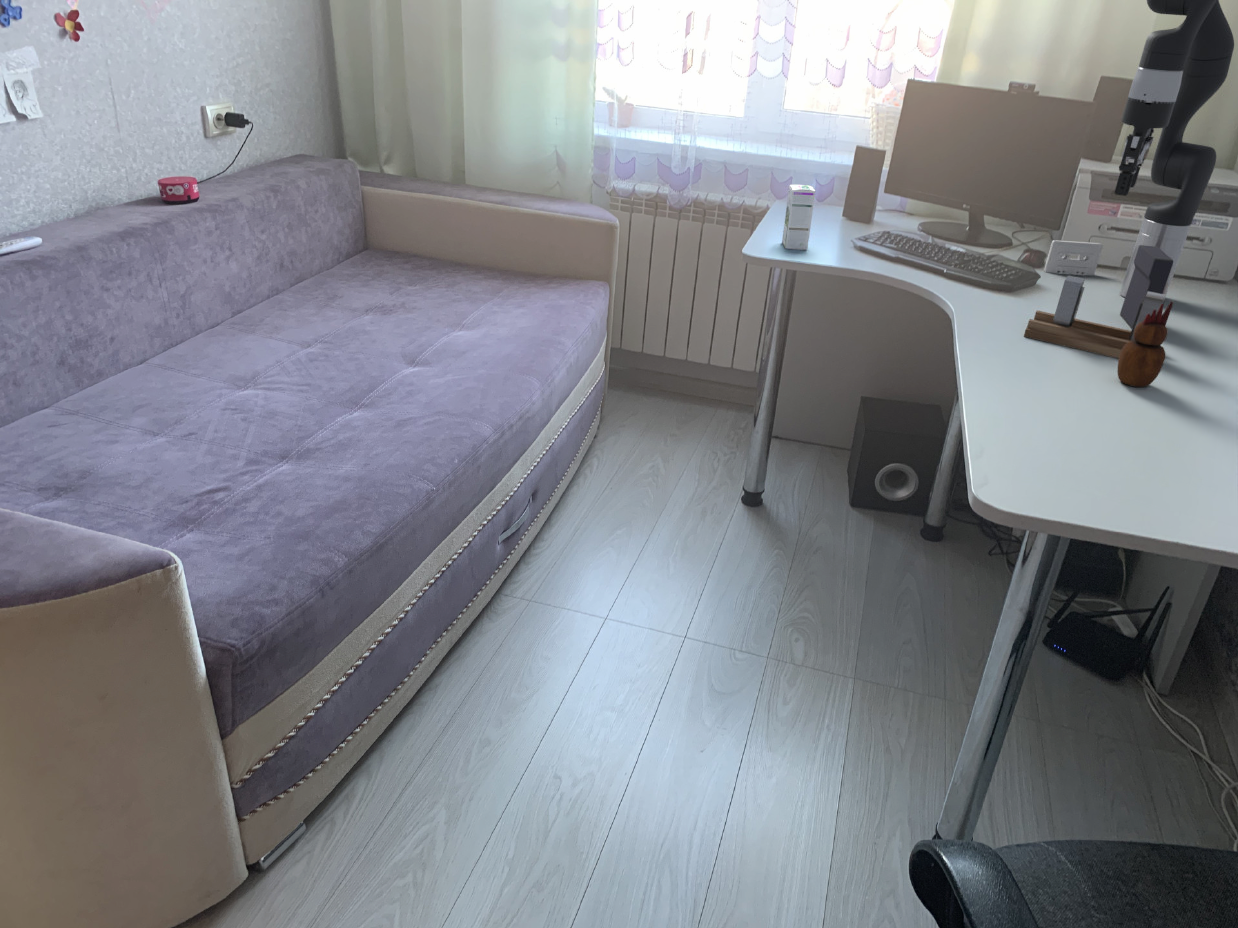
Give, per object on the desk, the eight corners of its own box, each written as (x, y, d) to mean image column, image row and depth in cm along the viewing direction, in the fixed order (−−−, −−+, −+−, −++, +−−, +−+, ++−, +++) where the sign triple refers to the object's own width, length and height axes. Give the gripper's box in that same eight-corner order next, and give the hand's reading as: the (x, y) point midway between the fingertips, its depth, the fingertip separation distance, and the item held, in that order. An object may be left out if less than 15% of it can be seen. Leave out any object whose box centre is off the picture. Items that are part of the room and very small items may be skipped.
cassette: (1045, 273, 225) (1054, 241, 221) (1042, 271, 226) (1051, 239, 223) (1095, 276, 225) (1104, 245, 221) (1091, 274, 226) (1101, 242, 223)
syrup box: (807, 250, 230) (817, 190, 223) (783, 249, 230) (792, 188, 223) (804, 244, 235) (813, 185, 228) (780, 242, 235) (789, 183, 228)
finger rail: (1034, 323, 190) (1049, 268, 185) (1158, 351, 180) (1179, 293, 174) (1023, 336, 183) (1039, 279, 177) (1152, 366, 172) (1174, 306, 167)
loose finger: (1054, 324, 186) (1068, 275, 181) (1072, 328, 184) (1087, 279, 179) (1050, 329, 183) (1064, 280, 178) (1068, 334, 181) (1083, 284, 176)
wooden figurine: (1151, 381, 166) (1180, 299, 159) (1156, 393, 161) (1186, 309, 154) (1110, 374, 168) (1137, 293, 160) (1114, 385, 163) (1142, 303, 156)
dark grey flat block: (1153, 334, 189) (1178, 261, 182) (1130, 331, 190) (1154, 258, 182) (1137, 316, 198) (1161, 246, 191) (1116, 314, 199) (1139, 244, 192)
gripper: (1134, 90, 171) (1108, 181, 179) (1123, 98, 160) (1095, 194, 168) (1180, 95, 167) (1151, 187, 175) (1171, 103, 157) (1141, 201, 165)
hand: (1124, 190), depth 172 cm, fingers open, 8 cm apart
